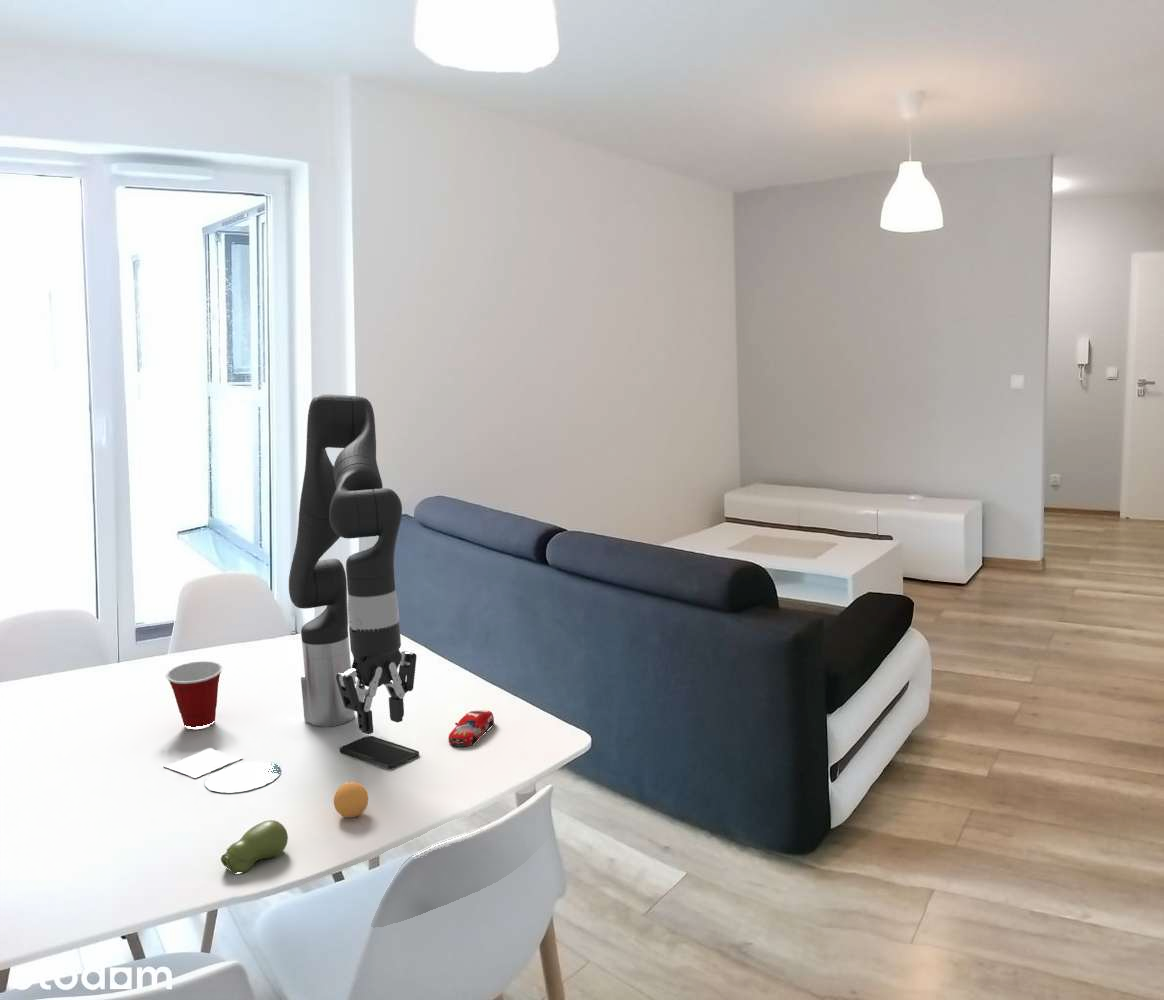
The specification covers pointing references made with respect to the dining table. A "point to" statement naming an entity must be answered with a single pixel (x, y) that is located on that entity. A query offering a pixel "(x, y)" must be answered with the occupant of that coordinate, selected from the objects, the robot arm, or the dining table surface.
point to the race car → (471, 728)
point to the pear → (256, 846)
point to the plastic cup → (196, 691)
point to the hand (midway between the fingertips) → (381, 726)
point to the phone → (379, 752)
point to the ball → (350, 799)
